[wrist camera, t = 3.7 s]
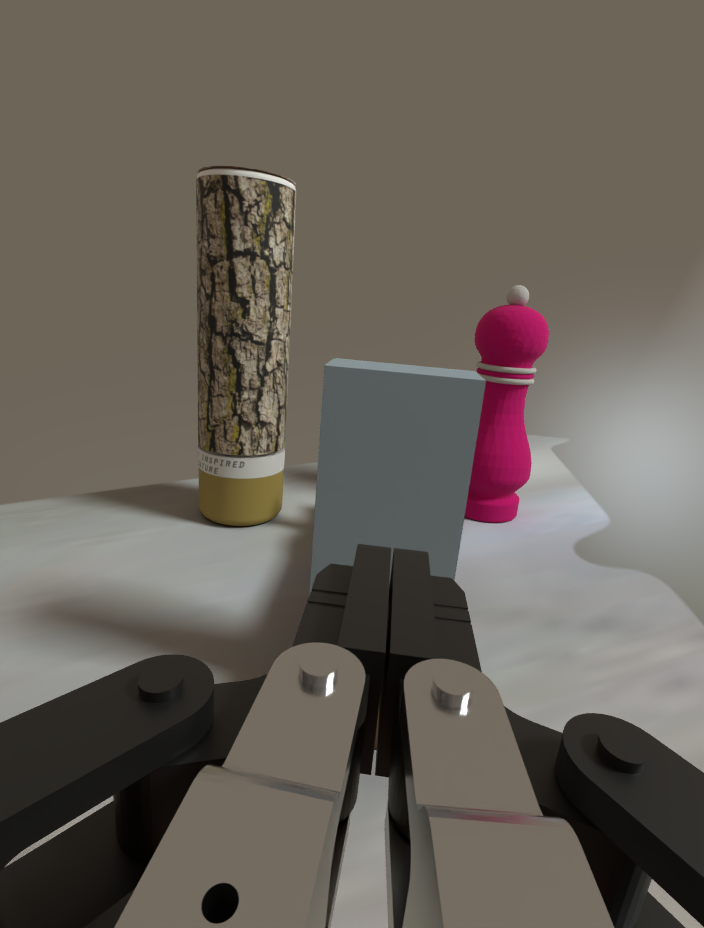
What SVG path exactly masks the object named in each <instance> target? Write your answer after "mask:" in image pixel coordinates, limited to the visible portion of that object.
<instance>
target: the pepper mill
mask: <svg viewBox="0 0 704 928" xmlns="http://www.w3.org/2000/svg"><path fill="white" fill-rule="evenodd" d="M528 299H529V292H528V290H527V289H526V288H525V287H524V286H520V285H517V286H514V287H513V288H511V289H510V290H509V292H508V294H507V301H508V303H509V305H504V306H499V307H496V308H494V309H492V310H490V311H489V312H488V313H486V314H485V315H484V316H483V318H481V320H480V322H479V323H478V325H477V329H476V332H475V345H476V348H477V350H478V351H479V353H480V355H481V357H482V361H480V362H478V363H477V364H476V366H477V367H478V369H477V373H478V374H479V375H480V376H481V377H483V378H484V379H485V380H486V384H485V390H484V397H483V403H482V409H481V416H480V422H479V428H478V434H477V441H476V447H475V453H474V460H473V466H472V472H471V478H470V485H469V491H468V497H467V504H466V510H465V516H464V517H466V518H469V519H473V520H477V521H482V522H492V523H500V522H507V521H511V520H512V519H514V518H515V517H516V515H517V510H518V504H519V497H518V496H517V494H515V493H514V492H515V491H517V490H518V489H519V488H521V487H522V486H523V485H524V484H525V483H526V482H527V481H528V479H529V477H530V471H531V453H530V448H529V444H528V440H527V435H526V430H525V425H524V404H525V397H526V393H527V390H528V386H529V385H531V384H533V383H534V379H533V377H534V374H533V373H535V372H536V369H535V368H534V367H532V365H533V363H534V362H535V360H536V359H537V358H539V357H540V356H541V355H542V354H543V353H544V351H545V349H546V347H547V343H548V335H549V331H548V325H547V323H546V320H545V319H544V318H543V316H542V315H541V314H540V313H538V312H537V311H535V310H534V309H531V308H529V307H525V306H524V305H525V304H526V303H527V301H528Z"/></svg>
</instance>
